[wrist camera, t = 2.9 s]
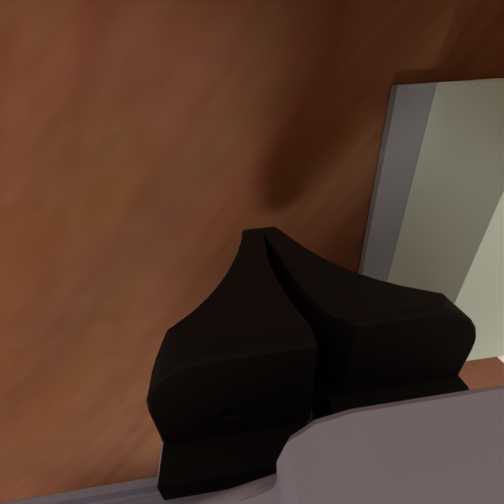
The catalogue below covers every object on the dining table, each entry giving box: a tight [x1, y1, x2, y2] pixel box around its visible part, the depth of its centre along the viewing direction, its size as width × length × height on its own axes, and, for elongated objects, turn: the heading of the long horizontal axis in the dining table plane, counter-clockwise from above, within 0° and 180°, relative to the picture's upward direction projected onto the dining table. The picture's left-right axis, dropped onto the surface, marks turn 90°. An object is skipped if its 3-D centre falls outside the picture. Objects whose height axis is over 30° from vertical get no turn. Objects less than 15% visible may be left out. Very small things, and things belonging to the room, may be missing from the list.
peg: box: [458, 356, 504, 390], centre depth 17 cm, size 4×4×6 cm
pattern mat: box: [358, 78, 496, 282], centre depth 13 cm, size 12×11×1 cm
